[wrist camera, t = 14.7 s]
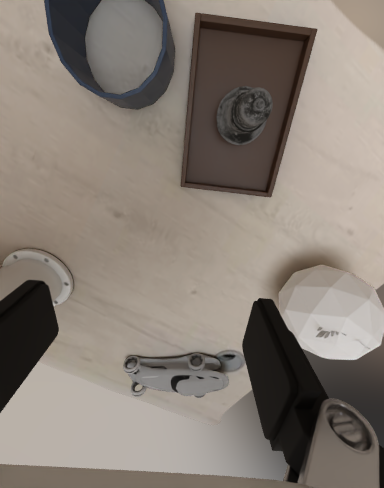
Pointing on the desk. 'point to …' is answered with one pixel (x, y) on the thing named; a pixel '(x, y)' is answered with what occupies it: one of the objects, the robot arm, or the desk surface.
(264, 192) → the tray
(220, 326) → the desk surface
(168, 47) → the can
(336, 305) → the geodesic sphere
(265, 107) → the salt shaker
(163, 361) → the car model
